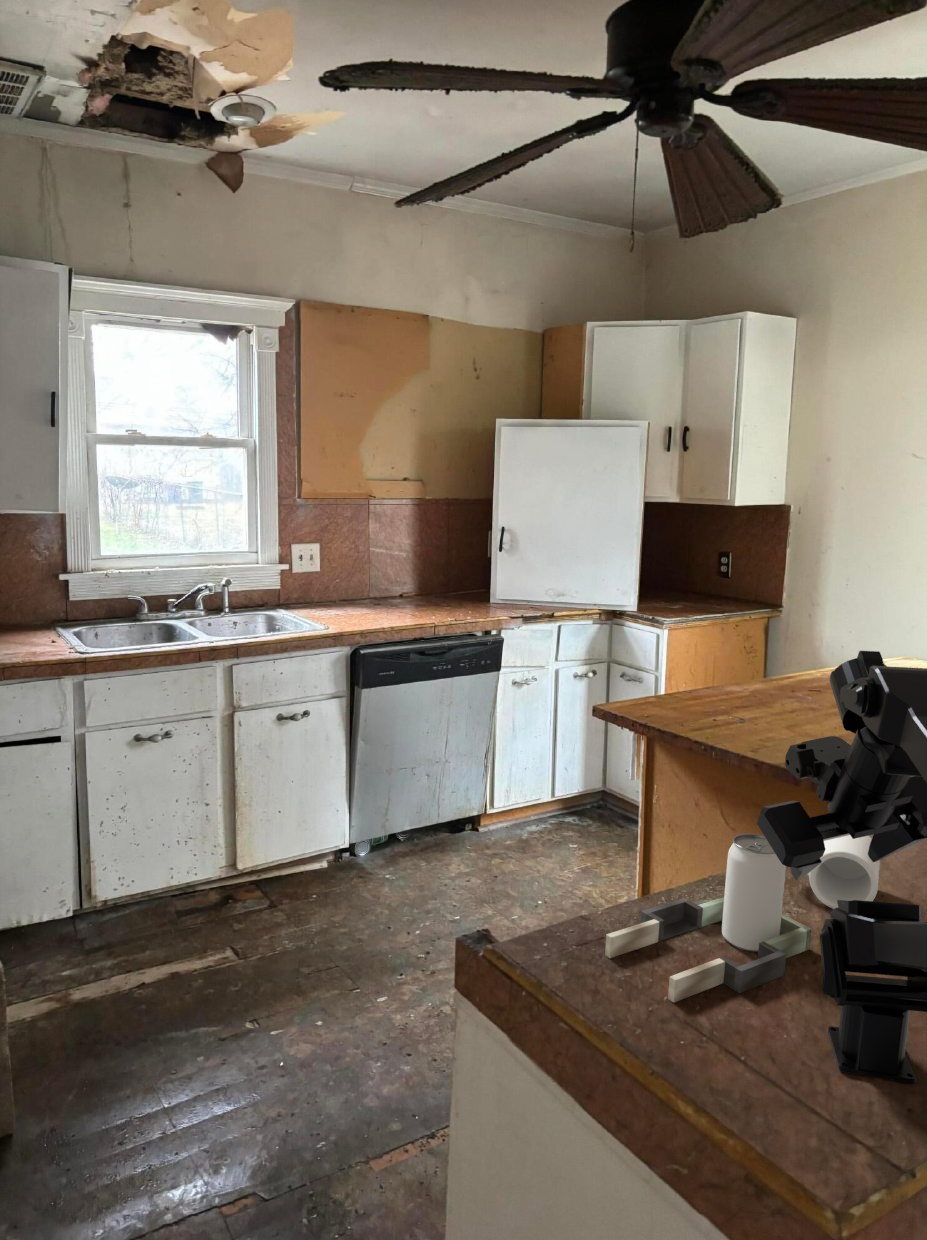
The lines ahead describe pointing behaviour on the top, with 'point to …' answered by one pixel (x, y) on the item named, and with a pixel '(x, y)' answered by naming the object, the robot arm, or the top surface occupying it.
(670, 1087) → the top surface
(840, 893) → the mug
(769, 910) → the can
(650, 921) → the channel
